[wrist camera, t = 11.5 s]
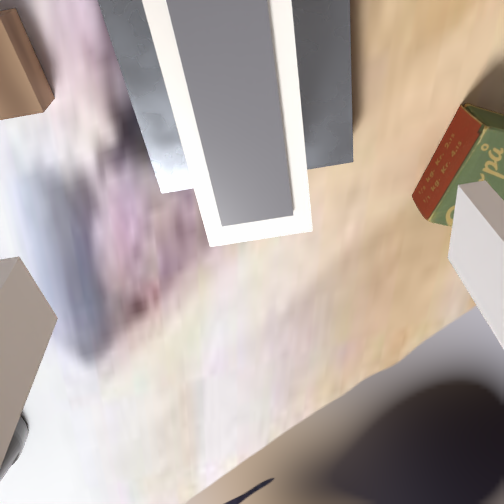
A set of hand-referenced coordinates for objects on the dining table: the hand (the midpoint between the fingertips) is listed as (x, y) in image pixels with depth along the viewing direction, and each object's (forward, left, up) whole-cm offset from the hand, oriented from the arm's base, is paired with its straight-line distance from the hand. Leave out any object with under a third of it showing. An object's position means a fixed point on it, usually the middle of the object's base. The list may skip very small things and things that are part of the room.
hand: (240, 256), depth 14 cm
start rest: (-15, +2, -21) cm, 25 cm away
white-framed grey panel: (0, 0, -20) cm, 20 cm away
